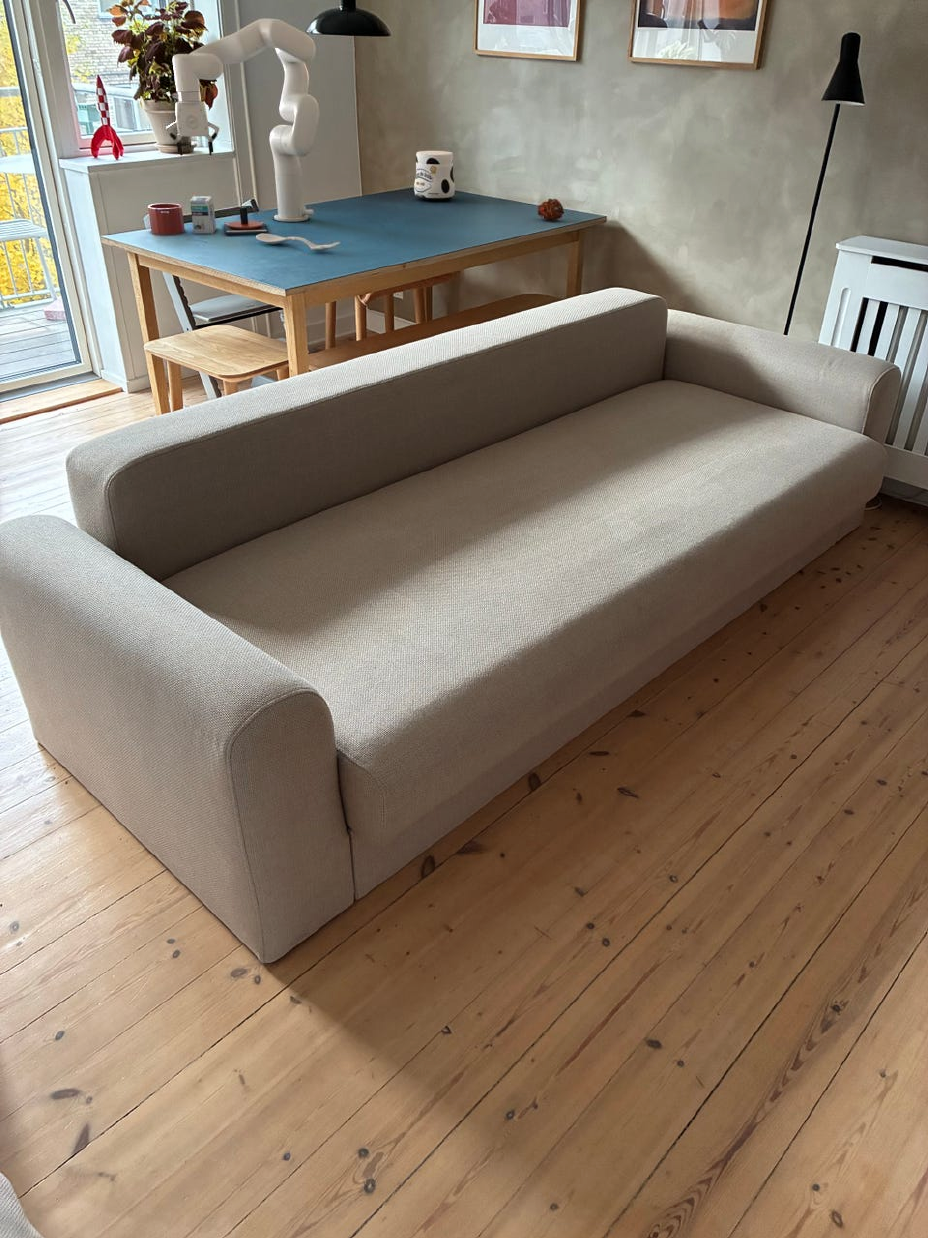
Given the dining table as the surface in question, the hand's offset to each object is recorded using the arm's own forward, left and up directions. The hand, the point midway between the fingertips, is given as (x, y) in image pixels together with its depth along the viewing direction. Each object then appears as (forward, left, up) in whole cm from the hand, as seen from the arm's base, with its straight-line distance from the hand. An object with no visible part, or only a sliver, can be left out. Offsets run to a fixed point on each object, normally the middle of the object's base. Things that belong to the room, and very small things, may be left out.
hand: (196, 154), depth 321 cm
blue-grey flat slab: (-13, -6, -24) cm, 28 cm away
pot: (+11, +5, -24) cm, 27 cm away
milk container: (-63, -93, -24) cm, 115 cm away
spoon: (-40, +19, -24) cm, 51 cm away
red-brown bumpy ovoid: (-116, -57, -24) cm, 132 cm away
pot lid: (-13, -6, -23) cm, 27 cm away
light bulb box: (0, 0, -24) cm, 24 cm away
